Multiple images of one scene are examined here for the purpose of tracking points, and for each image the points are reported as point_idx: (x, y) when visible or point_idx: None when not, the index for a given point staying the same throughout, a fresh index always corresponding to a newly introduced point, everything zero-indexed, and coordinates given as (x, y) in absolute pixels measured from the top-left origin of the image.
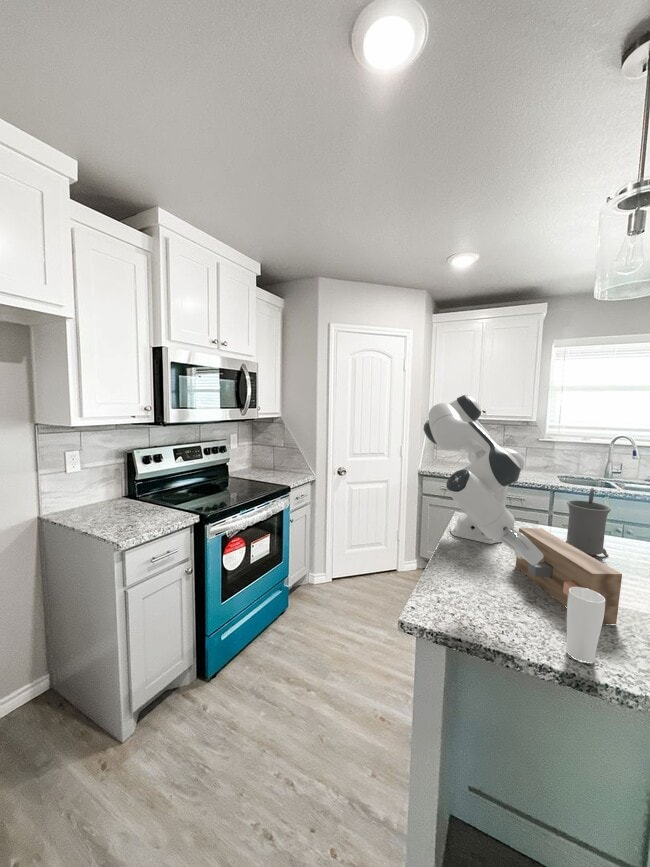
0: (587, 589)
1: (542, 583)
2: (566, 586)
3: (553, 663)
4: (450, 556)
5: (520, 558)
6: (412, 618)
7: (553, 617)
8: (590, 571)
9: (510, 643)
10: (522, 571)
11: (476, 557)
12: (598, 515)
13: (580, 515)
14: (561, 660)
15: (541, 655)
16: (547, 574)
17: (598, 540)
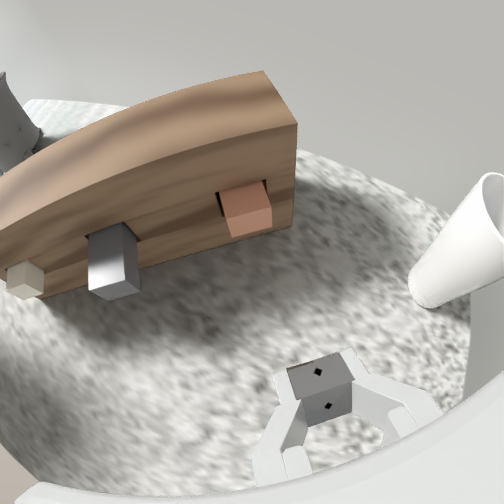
0: (481, 192)
1: None
2: (242, 220)
3: (461, 341)
4: (26, 449)
5: (41, 292)
6: None
7: (281, 293)
8: (278, 122)
9: None
10: (59, 292)
11: (14, 382)
12: (1, 89)
13: None
14: (449, 324)
15: (448, 360)
16: (133, 248)
17: (26, 119)
